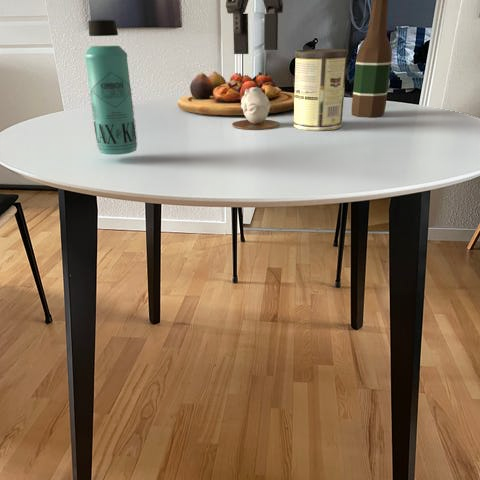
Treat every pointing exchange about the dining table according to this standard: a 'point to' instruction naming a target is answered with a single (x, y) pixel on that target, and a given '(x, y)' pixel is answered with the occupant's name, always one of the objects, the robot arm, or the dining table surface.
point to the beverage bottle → (110, 93)
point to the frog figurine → (255, 105)
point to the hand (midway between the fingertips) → (256, 52)
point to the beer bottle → (373, 66)
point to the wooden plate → (231, 94)
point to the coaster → (255, 125)
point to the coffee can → (319, 89)
